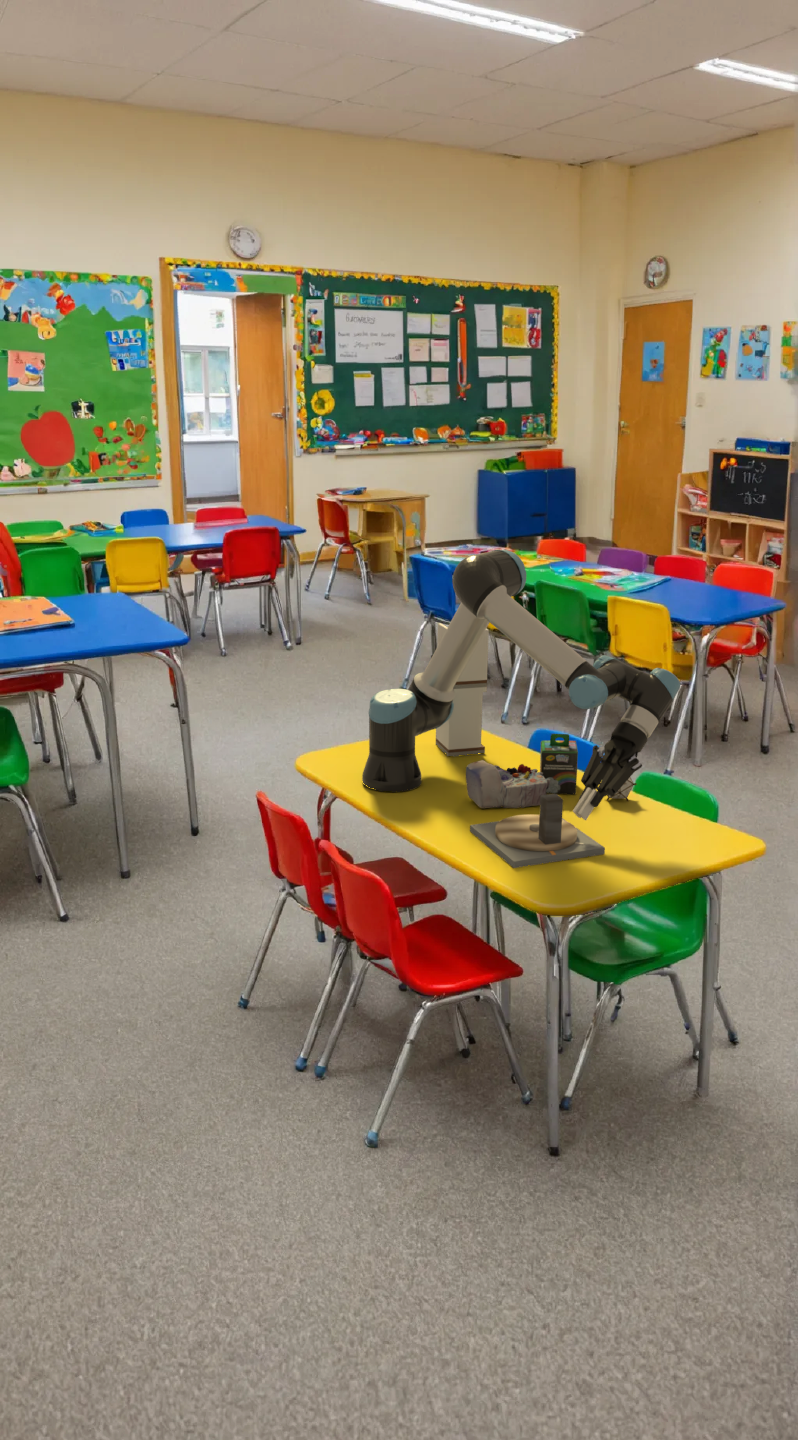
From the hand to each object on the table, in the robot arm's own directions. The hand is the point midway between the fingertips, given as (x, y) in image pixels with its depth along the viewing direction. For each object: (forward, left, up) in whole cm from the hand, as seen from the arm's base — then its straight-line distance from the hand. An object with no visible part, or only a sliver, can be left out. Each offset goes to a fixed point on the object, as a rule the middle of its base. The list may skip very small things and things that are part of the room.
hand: (579, 815), depth 246 cm
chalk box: (-34, +14, -7) cm, 37 cm away
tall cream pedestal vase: (-72, +4, -7) cm, 72 cm away
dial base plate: (-4, -8, -7) cm, 11 cm away
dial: (-4, -8, -5) cm, 11 cm away
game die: (-22, +24, -7) cm, 33 cm away
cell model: (-29, -3, -7) cm, 30 cm away
